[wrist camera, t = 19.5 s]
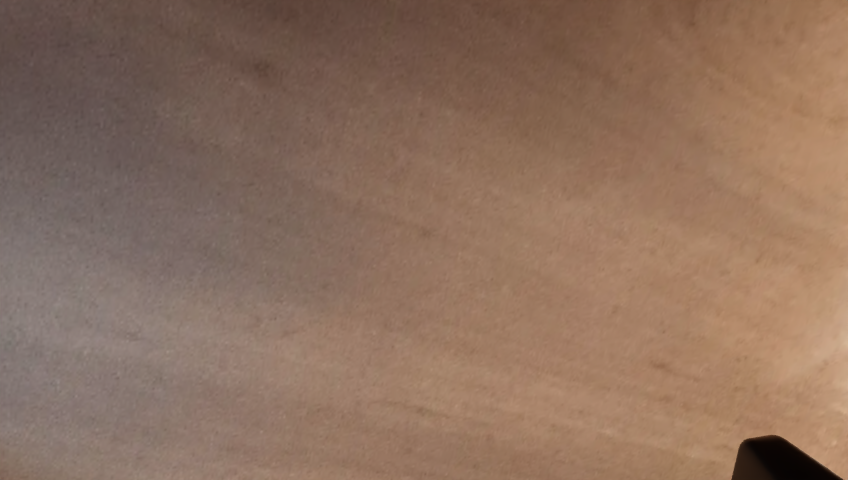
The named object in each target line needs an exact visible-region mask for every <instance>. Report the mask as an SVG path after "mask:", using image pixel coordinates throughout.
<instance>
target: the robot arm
mask: <svg viewBox="0 0 848 480" xmlns="http://www.w3.org/2000/svg"><path fill="white" fill-rule="evenodd" d="M731 480H843V479H842V478H841V477H839V476H838V475H836V474H835V473H833V472H832V471H830V470H829V469H828V468H826V467H825V466H823V465H822V464H820V463H819V462H817V461H816V460H815V459H813V458H812V457H810V456H809V455H807V454H806V453H804V452H803V451H802V450H800V449H799V448H797V447H796V446H794V445H793V444H791V443H790V442H789V441H787V440H786V439H784V438H782V437H780V436H777V435H767V436H761V437H755V438H749V439H746V440H744V441H743V442H742V443H741V444H740V447H739V450H738V454H737V458H736V463H735V467H734V471H733V475H732V479H731Z"/></svg>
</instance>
